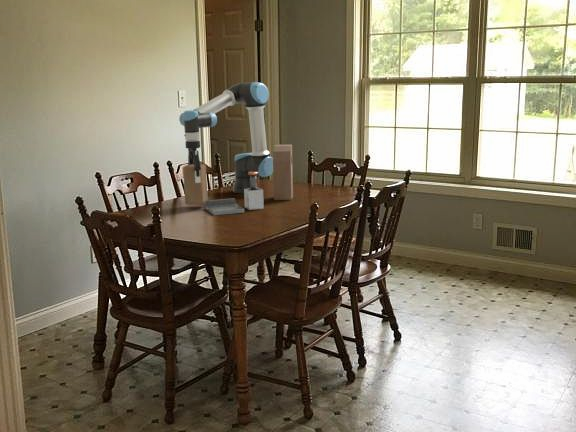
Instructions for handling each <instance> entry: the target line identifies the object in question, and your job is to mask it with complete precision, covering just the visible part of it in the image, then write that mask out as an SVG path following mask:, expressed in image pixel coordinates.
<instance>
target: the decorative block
mask: <svg viewBox="0 0 576 432" xmlns="http://www.w3.org/2000/svg"><path fill="white" fill-rule="evenodd" d="M272 153H273V155H272V158H273V172H272V175H273V177H272V178H273V200H274V201H292V200H293V197H294V183H293V182H294V181H293V179H294V178H293V173H294V172H293V144H274V145H273V152H272Z"/></svg>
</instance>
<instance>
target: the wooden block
mask: <svg viewBox="0 0 576 432" xmlns="http://www.w3.org/2000/svg"><path fill="white" fill-rule="evenodd" d="M200 166H201V169H200V178H201V183H195V171H194V169H195V167H194V164H189V165H188V164H187V165H185V166H183V167H182V173H183V174H182V177H183V178H182V179H183V189H184V202H185V204H186V205H203V204H205V201H208V200H209V197H208V196H209V194H208V181H207V179H208V178H207V165H206V164H205V163H204V164H203V163H200Z"/></svg>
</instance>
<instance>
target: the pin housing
mask: <svg viewBox="0 0 576 432" xmlns="http://www.w3.org/2000/svg"><path fill="white" fill-rule="evenodd" d="M243 195H244V196H243V198H244V209H247V210H248V211H253V210H263V209H264V208H265V205H264V203H265V202H264V200H265V199H264V189H263V188H261V187H259V186H258V188H256V190H251V188H246V189H244V193H243Z"/></svg>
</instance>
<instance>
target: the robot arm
mask: <svg viewBox="0 0 576 432" xmlns="http://www.w3.org/2000/svg"><path fill="white" fill-rule="evenodd" d="M269 98H270V92H269V89H268V87H267V86H266V85H265V84H264V83H262V82H258V81H250V82H240V83H236V84H234V85H231V86H230V87H229V88H227V89H225V90H224V91H222V94H219V95H218V96H216V97H214V98H212V99H210V100H209V101H207V102H204V103H203V104H201V105H200V106H198V107H196V108H194V109H191V110H185V111H183V112H182V113H181V114H180V115H179V120H178V121H179V122H180V123H179V124H180V125H181V126H183V127H184V134H183V137H184V139H185V148H186V149H187V151H188V156H187V157H188V158H187V160H188V161H187V165H189V164H194V167H195V169H194V171H195V183H201V178H200V169H201V166H200V164H201V161H200V155H199V154H200V152H199V150H197V149H200V148H201V141H200V140H201V137H200V135H201V133H200V129H202V128H203V129H204V128H212V127H215V126H216V125H217V123H218V116H217V115H216V114H217V113H218V112H220V111H222V110H223V109H226V108H228V107H229V106H230V107H233V106H234V105H237V104H244V105H245V109H246V110H248V111H247V112H248V119H249V120H248V121H249V129H250V139H251V152H246V153H239V154H236V155H235V156H234V162H233V163H234V177H235V179H234V182H233V183H234V184H233V186H232V192H233V193H234V194H244V189H246V188H251V183H250V175H249V174H248V172H258V174H257V175H256V177H257V176H258V177H263V178H264V177H270V176H271V175H273V156H271V153H270V151H269V150H268V147H267V133H266V125H265V114H264V113H265V111H264V108H266V106H267V105H266V103H267V102H268V100H269ZM258 187H259V186H258V184H257V183H256V188H258Z"/></svg>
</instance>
